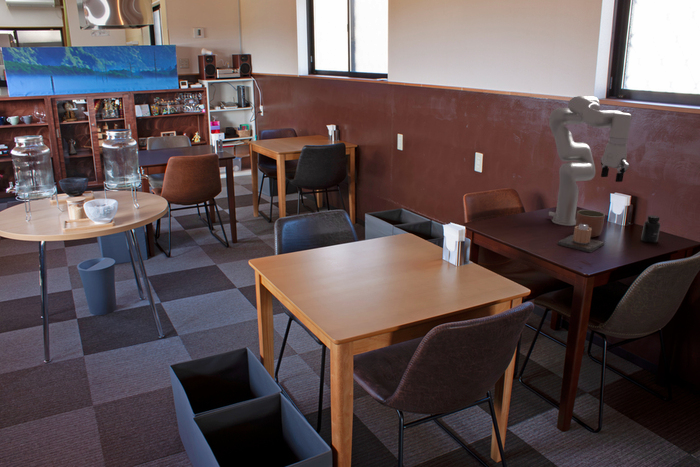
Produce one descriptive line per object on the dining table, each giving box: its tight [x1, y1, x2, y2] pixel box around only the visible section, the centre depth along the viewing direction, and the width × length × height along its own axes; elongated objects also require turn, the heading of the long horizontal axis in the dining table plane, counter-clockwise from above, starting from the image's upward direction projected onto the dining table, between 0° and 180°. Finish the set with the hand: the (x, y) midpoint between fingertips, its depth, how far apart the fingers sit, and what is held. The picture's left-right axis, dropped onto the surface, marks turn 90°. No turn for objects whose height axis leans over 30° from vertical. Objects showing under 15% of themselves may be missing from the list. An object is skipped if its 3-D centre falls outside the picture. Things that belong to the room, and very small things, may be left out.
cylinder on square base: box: [557, 224, 605, 253], centre depth 248 cm, size 15×15×10 cm
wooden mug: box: [573, 225, 592, 243], centre depth 248 cm, size 8×7×6 cm
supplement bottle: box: [640, 214, 661, 244], centre depth 255 cm, size 7×7×12 cm
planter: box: [575, 209, 606, 238], centre depth 263 cm, size 12×12×11 cm
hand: (611, 179), depth 246 cm, fingers open, 9 cm apart
